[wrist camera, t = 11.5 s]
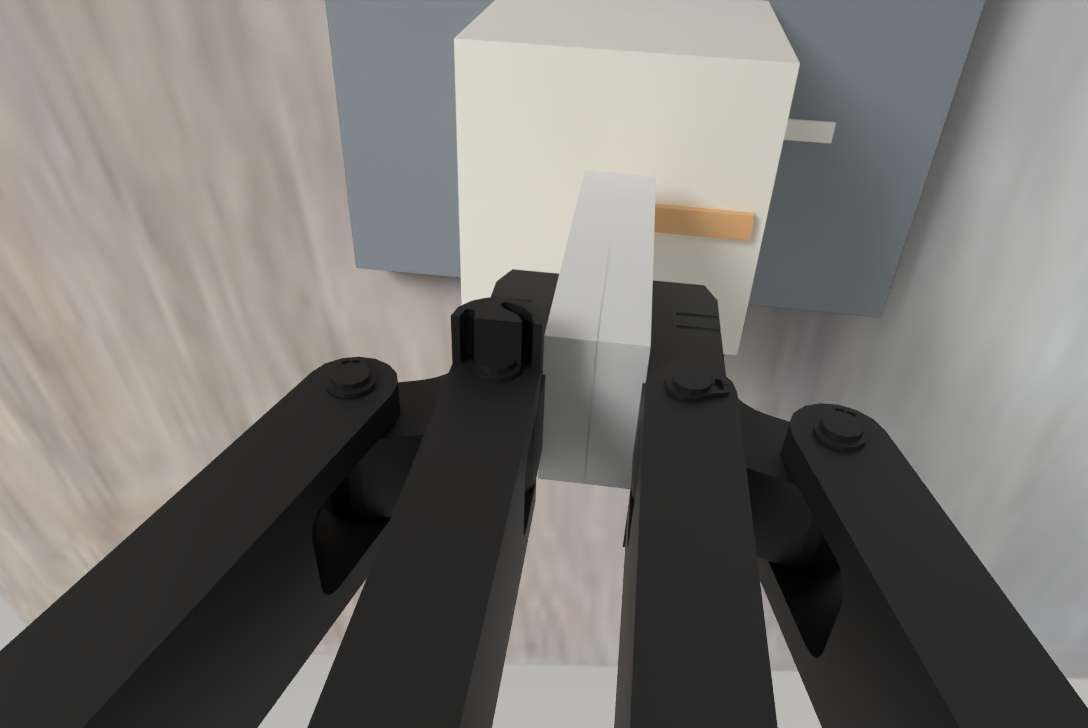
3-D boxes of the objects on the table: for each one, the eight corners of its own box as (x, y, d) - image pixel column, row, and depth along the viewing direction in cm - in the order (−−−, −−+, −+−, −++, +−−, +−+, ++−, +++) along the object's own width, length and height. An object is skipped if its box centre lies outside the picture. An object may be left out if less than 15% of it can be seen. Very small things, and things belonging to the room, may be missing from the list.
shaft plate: (329, -138, 22) (242, -129, 17) (997, -105, 20) (1092, -86, 16) (369, 248, 29) (314, 327, 24) (870, 295, 27) (911, 388, 23)
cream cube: (511, -16, 22) (451, 40, 16) (768, 0, 21) (801, 65, 15) (509, 217, 26) (460, 330, 20) (724, 237, 25) (737, 359, 19)
